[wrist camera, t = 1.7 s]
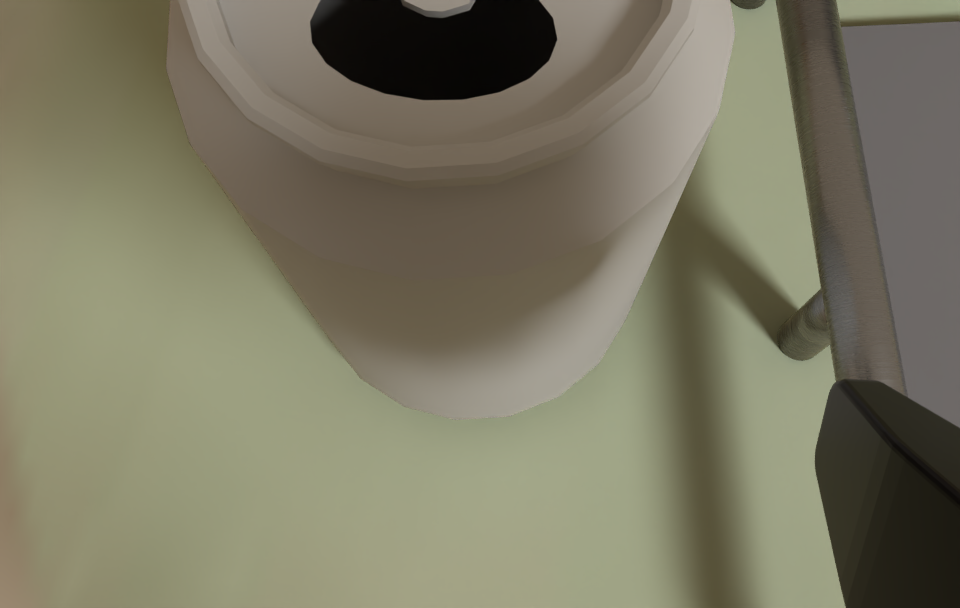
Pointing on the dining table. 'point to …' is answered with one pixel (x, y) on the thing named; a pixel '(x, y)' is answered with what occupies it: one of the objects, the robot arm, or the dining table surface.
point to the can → (455, 171)
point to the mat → (915, 191)
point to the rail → (835, 205)
